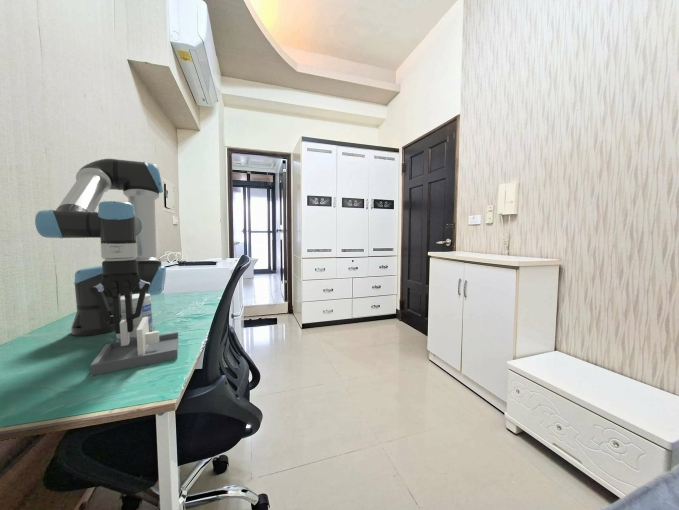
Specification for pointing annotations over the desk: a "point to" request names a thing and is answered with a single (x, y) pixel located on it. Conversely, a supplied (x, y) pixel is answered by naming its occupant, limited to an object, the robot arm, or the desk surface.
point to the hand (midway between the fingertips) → (125, 343)
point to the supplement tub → (144, 313)
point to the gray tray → (134, 354)
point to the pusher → (145, 336)
